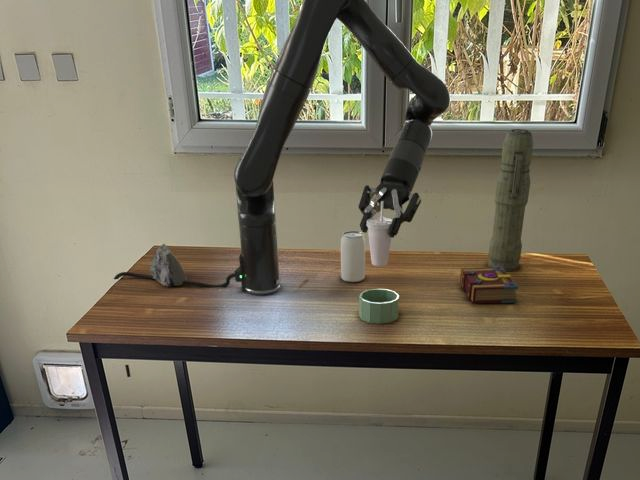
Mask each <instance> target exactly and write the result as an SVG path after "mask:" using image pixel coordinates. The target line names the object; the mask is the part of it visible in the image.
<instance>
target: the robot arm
mask: <svg viewBox="0 0 640 480" xmlns="http://www.w3.org/2000/svg"><path fill="white" fill-rule="evenodd" d="M301 1H302V2H301V5H300V6H299V7H300V8H299V11H298V14H297V16H296V20H295V21H294V24H293V26H292V28H291V30H290V32H289V34H288V35H287V37H286V40H285V42H284V43H283V46H282V48H281V50H280V52H279V55H278V57H277V59H276V61H275V64H274V66H273V68H272V71H271V74H270V76H269V78H268V80H267V84H266V87H265V90H264V93H263V97H262V99H261V104H260V107H259V112H258V116H257V120H256V121H257V122H256V124H255V128H254V131H253V134H252V136H251V138H250V140H249V143H248V144H247V146H246V147H245V151H244V152H243V153H241V154H240V155H239V156H238V157H237V159H236V160H235V163H234V168H233V180H234V183H235V191H236V192H235V194H236V209H237V221H238V229H239V240H240V252H241V253H240V254H238V260H239V266H238V267H237V268H236V269H235V270H234V272H233V273H230V274H229V275H227V276H226V279H225V282H224V283H221V284H209V283H204V282H200V281H199V282H198V281H191V280H190V281H189V280H187V281H183V284H182V285H185V286H194V287H202V288H226V287H227V286H228V287H229V285H230V283H231V279H232V278H234V279H235V282H237V283H241V291H242V292H245V293H248V294H252V295H261V296H262V295H270V294H274V293H276V292H278V291H280V289H281V281H282V279H281V277H280V268H279V252H278V251H279V250H278V235H277V218H276V202H275V190H274V177H275V174H276V172H277V171H276V170H277V167H278V163H279V160H280V157H281V155H282V152H283V149H284V147H285V144H286V142H287V140H288V138H289V136H290V134H291V133H292V131H293V129H294V127H295V125H296V123H297V121H298V120H299V118H300V115H301V113H302V111H303V109H304V107H305V104H306V102H307V100H308V98H309V95H310V93H311V90H312V88H313V86H314V83H315V80H316V77H317V74H318V71H319V67H320V65H321V64H320V63H321V60H322V57H323V52H324V50H325V49H324V48H325V46H326V42H327V40H328V37H329V34H330V33H331V30H332V28H333V27H334V24H335V22H336V20H338V21H339V22H340V23H342V25H344V27H346V29H347V30H348V31H349V32H350V33H351V34H352V36H354V38H355V39H356V40H357V41H358V43H359V44H360V45H361V47H362V48H363V50H364V51H365V52H366V54H367V55H368V56H369V57H370V59H371V61H372V62H373V63H374V65H376V67H377V68H378V69H379V71H380V72H381V73H382V74H383V75H384V77H385V78H386V79H387V80H388V81H389V83H390V84H391V85H392V87H394V88H395V89H396V90H398V91H404V90H409V91H410V92H411V93H412V94H413V96H412V97H411V98H410V100H409V102H408V104H407V107H406V111H405V114H404V119H403V127H402V129H401V131H400V133H399V135H398V138H397V141H396V142H395V144H394V147H393V148H392V150H391V152H390V155H389V158H388V159H387V162H386V165H385V168H384V170H383V172H382V175H381V178H380V182H379V183H378V185H377V186H376V187H370V186H369V185H365V186H364V188H363V190H362V193H361V197H360V200H359V203H358V210H359V211H360V213H361V214H362V217H361V220H360V222H359V227H360V230H361V232H362V233H363V234H366V233H368V227H367V226H366V224H367V220H368V219H370V218H374V217H375V215H376V214H377V213H381V201H384V203H383V210H390V211H394V217H393V218H392V219H393V221H392V223H391V226H390V228H389V231H388V235H389V236H390V237H391V239H392V238H393V239H394V238H395V237H397V235H398V234H399V231H400V228H401V226H402V224H404V223H405V222H407V223H411V222H412V221H413V218H414V216H415V215H416V213H417V211H418V208H419V207H420V205H421V203H422V198H421V197H420V194H419V193H418V192H414V193H412V191H413V189H414V186H415V185H416V181H417V179H418V177H419V174H420V172H421V171H422V167H423V163H424V159H425V156H426V154H427V151H428V149H429V145H430V143H431V141H432V137H433V131H432V128H431V125H432V124H433V122H434V120H436V119H437V118H438V117H440V116H441V115H443V114H444V113H445V112H446V111H447V110H448V109H449V107H450V105H451V94H450V91H449V88H448V87H447V85H446V84H445V82H444V81H443V80H442V79H441V78H440V77H438V76H437V75H436V74H434V73H433V72H432V71H430V70H429V69H428V68H427V67H425V66H424V65H422V64H420V63H419V62H418V61H417V59H416V58H415V57H414V56H413V54H412V53H411V52H410V51H409V49H408V48H407V47H406V46H405V44H404V43H403V42H402V41H401V40H400V39H399V38H398V36H396V34H395V33H394V32H393V31H392V30H391V29H390V28H389V27H388V26H387V25H386V24H385V23H384V21H382V20H381V19H380V17H379V16H378V15H377V14H376V13H375V11H373V9H372V8H371V6H370V5H369V4H368V3H367V1H366V0H301ZM407 202H408V204H407V206H406V208H405V210H404V208H403V205H405V204H406V203H407ZM125 276H126V277H133V278H144V279H151V280H155V279H154V277H153V276H152V274H145V273H135V272H130V271H122V272H119V273H117V274H115V276H114V277H113V280H118V279H120V278H121V277H125ZM124 367H125V371H126V377H127V378H130V377H131V371H130V366H129V364H125V365H124Z"/></svg>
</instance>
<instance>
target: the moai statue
mask: <svg viewBox="0 0 640 480" xmlns="http://www.w3.org/2000/svg"><path fill="white" fill-rule="evenodd" d="M502 144H503V145H502V152H501V161H500V164H501V166H500V170H499V174H498V176H497V178H496V184H495V192H494V193H495V194H494V203H495V210H494V218H493V227H492V236H491V238H490V241H489V246H488V254H487V257H488V260H487V268H488V267H495V266H502V267H503V268H504V269H505V271H506V272H512V271H516V270H518V269H519V266H520V259H521V257H522V250H523V242H522V233H523V226H524V220H525V219H524V218H525V212H526V206H527V204H528V202H529V195H530V188H531V176H530V171H531V169H530V165H531V162H532V156H533V150H534V149H533V148H534V139H533V133H532V132H531V131H530V130H529V129H523V128H514V129H510V130H508V131H507V133H506V135H505V138H504V141H503V143H502Z"/></svg>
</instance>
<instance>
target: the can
mask: <svg viewBox="0 0 640 480" xmlns="http://www.w3.org/2000/svg"><path fill="white" fill-rule="evenodd" d="M364 234H365V233H364V232H362V231H359V230H347V231H344V232H343V233H341V235H342V236H341V238H340V278H341V279H342V281H344V282H347V283H359V282H362V281H363V280H364V279H365V278H366V238H365V237H364Z"/></svg>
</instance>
